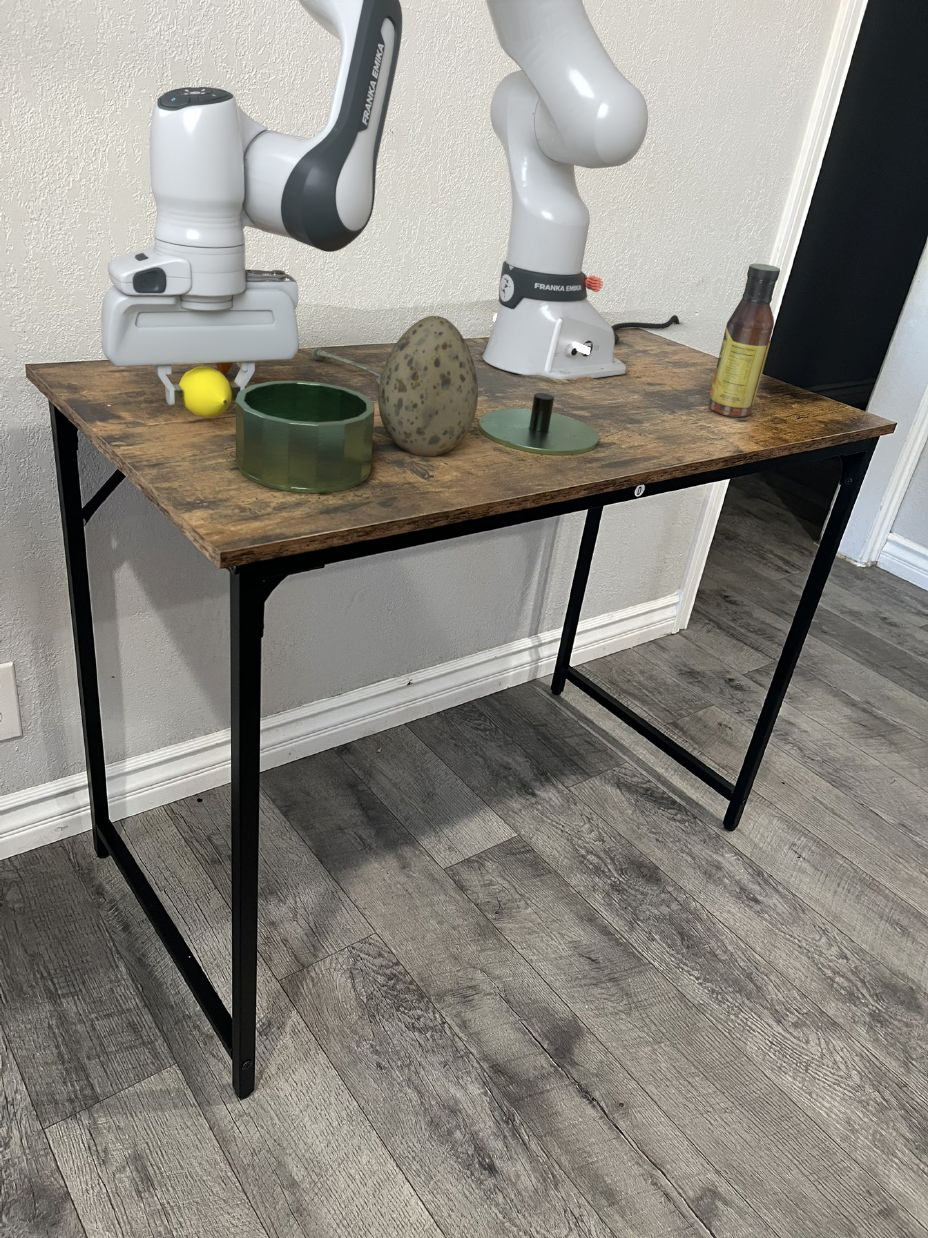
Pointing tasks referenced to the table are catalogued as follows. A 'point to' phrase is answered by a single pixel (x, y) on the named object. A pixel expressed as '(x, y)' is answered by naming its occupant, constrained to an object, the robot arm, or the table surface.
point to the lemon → (205, 391)
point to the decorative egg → (428, 388)
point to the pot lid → (539, 429)
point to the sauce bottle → (745, 345)
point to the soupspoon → (320, 354)
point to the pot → (304, 436)
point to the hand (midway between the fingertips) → (205, 401)
